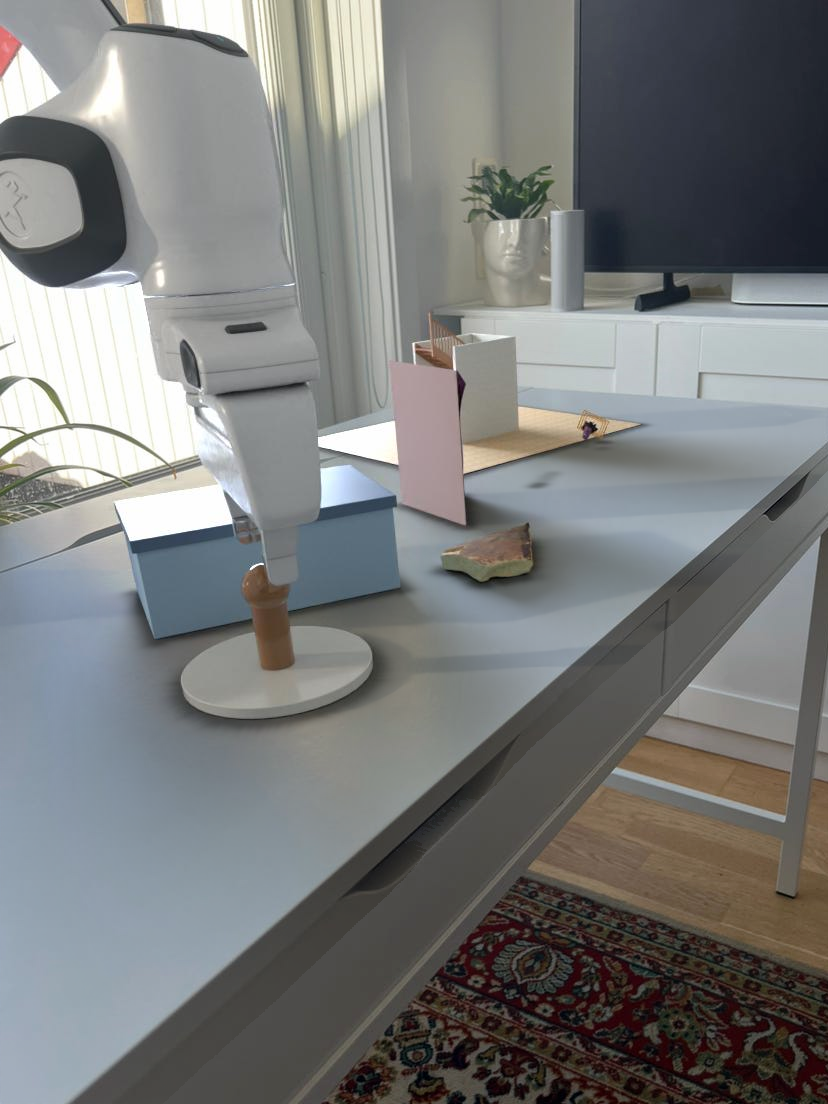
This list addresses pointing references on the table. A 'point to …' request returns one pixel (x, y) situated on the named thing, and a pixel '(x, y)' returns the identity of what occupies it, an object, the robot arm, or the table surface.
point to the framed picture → (591, 426)
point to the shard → (492, 555)
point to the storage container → (255, 552)
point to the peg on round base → (275, 662)
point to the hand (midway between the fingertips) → (265, 559)
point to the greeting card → (429, 438)
